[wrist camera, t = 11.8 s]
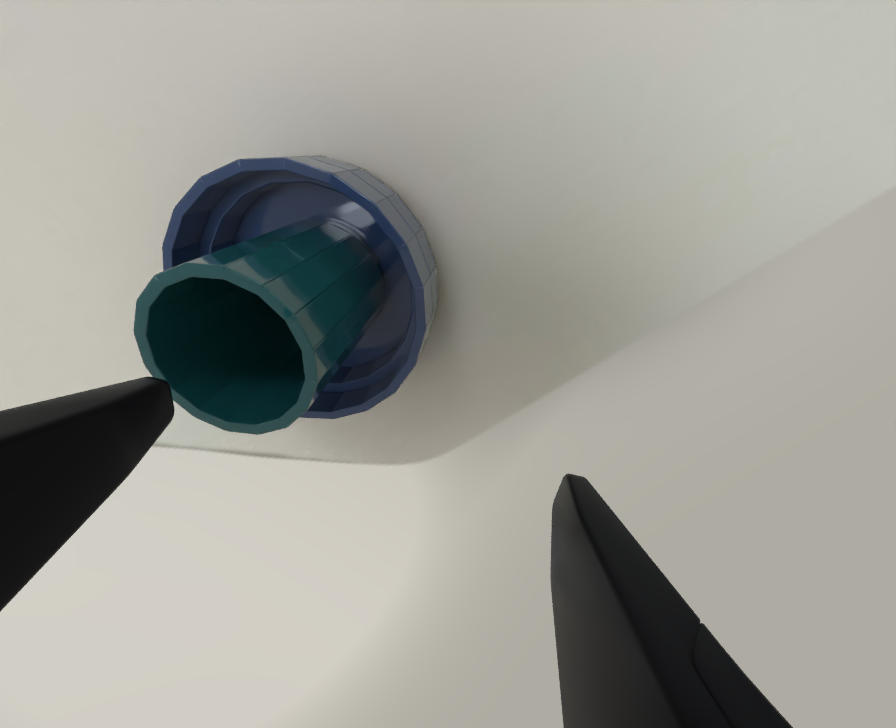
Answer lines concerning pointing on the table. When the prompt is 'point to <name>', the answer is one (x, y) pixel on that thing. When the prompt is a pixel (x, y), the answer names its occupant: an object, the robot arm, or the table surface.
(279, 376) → the cup
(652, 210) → the table surface
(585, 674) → the robot arm
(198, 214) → the bowl
